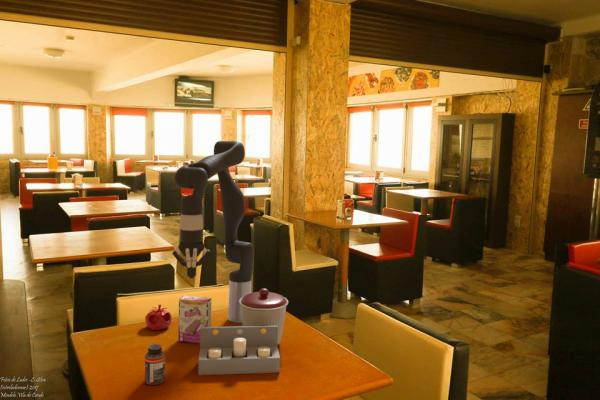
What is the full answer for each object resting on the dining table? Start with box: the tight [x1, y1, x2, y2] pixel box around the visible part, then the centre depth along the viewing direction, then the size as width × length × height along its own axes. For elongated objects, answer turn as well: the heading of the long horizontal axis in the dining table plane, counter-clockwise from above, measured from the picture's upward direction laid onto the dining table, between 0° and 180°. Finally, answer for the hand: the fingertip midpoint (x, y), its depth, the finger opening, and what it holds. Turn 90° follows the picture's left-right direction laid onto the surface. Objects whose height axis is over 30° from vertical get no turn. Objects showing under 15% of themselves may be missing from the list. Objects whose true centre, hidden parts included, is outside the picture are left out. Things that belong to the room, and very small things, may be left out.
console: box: [197, 325, 281, 376], centre depth 161 cm, size 10×26×12 cm, turn 98°
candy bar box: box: [177, 295, 213, 344], centre depth 180 cm, size 11×5×16 cm, turn 84°
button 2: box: [258, 347, 270, 357], centre depth 161 cm, size 4×4×5 cm
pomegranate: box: [144, 304, 172, 331], centre depth 192 cm, size 10×10×9 cm
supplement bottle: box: [144, 343, 166, 386], centre depth 149 cm, size 6×6×11 cm
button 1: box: [209, 348, 221, 358], centre depth 159 cm, size 4×4×5 cm
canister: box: [239, 287, 289, 346], centre depth 179 cm, size 18×18×21 cm
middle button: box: [233, 338, 246, 357], centre depth 159 cm, size 4×4×5 cm
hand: (191, 277), depth 164 cm, fingers closed
